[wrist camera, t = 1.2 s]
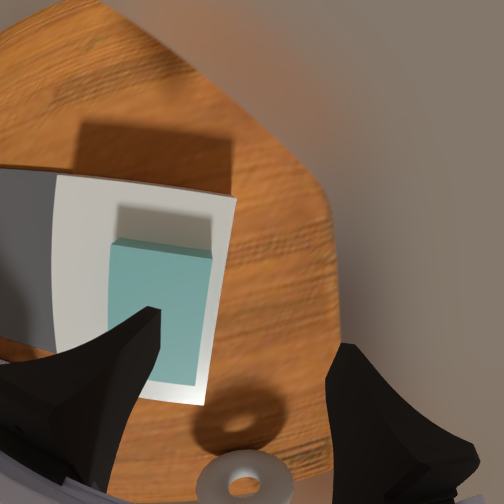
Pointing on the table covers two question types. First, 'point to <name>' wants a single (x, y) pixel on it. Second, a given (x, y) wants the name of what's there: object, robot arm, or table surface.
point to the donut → (245, 465)
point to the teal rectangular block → (162, 299)
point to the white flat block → (136, 228)
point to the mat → (27, 257)
